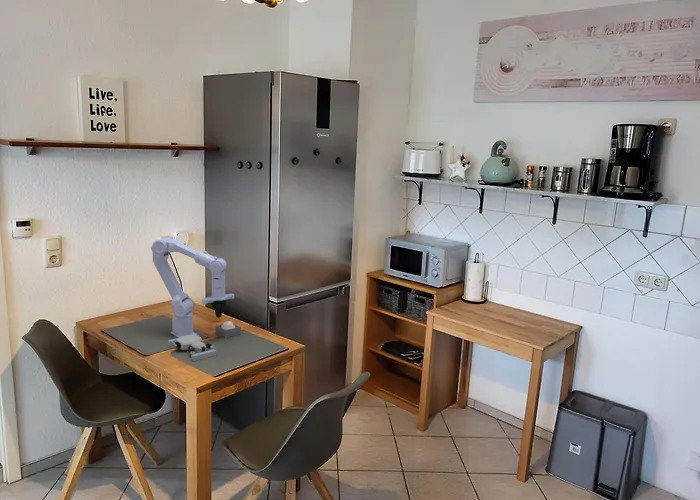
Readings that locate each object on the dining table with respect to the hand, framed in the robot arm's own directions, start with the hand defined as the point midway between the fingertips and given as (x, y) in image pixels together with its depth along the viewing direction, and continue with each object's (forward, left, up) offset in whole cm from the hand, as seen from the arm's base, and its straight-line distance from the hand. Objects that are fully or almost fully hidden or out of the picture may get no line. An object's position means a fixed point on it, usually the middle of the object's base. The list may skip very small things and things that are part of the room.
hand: (218, 317), depth 233 cm
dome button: (-2, +6, -8) cm, 11 cm away
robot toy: (+6, -16, -10) cm, 19 cm away
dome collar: (-2, +6, -9) cm, 11 cm away
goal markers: (+6, -16, -9) cm, 20 cm away
